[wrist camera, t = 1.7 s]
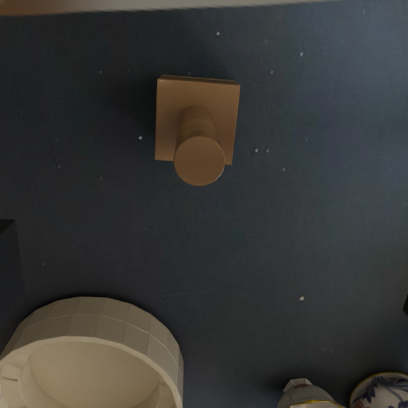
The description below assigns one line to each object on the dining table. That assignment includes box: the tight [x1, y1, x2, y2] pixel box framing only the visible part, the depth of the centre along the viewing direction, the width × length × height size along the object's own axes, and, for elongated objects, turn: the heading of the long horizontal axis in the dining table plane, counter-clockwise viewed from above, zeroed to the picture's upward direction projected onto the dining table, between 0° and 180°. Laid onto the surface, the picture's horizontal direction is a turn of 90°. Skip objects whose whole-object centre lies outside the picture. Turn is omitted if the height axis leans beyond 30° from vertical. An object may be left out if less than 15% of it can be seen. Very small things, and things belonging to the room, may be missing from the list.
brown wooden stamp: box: [155, 74, 240, 186], centre depth 25 cm, size 6×6×14 cm
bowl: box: [0, 296, 183, 408], centre depth 39 cm, size 19×19×6 cm
